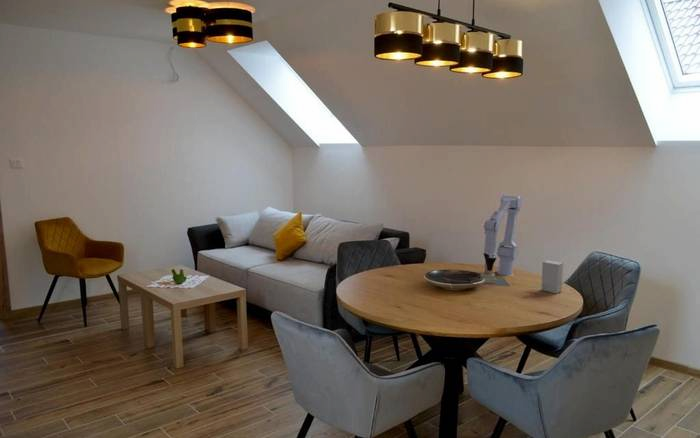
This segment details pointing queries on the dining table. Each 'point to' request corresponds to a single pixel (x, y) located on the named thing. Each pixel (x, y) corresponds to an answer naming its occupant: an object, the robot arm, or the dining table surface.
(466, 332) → the dining table surface
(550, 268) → the skincare box
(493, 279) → the birch slab
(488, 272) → the rounded pink dome
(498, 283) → the charcoal mat
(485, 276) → the sage slab
